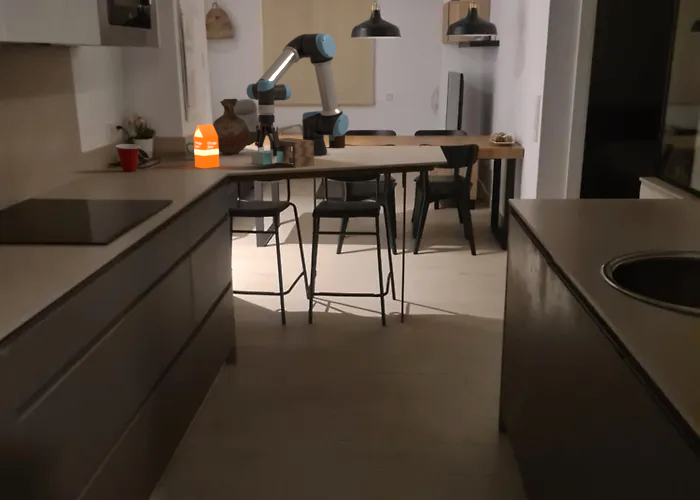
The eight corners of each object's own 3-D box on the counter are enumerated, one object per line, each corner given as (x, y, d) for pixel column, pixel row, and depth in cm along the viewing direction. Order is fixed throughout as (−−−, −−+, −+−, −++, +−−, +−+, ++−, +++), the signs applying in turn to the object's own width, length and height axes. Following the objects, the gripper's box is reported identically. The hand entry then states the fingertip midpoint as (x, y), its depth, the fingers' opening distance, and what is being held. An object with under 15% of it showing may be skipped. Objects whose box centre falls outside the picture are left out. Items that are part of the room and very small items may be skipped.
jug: (241, 150, 392) (239, 97, 384) (257, 155, 374) (255, 98, 366) (205, 153, 381) (202, 98, 373) (219, 157, 363) (216, 99, 355)
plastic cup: (128, 173, 309) (125, 146, 306) (112, 171, 315) (110, 145, 312) (147, 170, 318) (145, 144, 315) (131, 168, 324) (129, 143, 320)
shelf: (289, 161, 349) (288, 137, 345) (314, 165, 335) (313, 140, 332) (270, 163, 340) (269, 139, 337) (295, 167, 327) (294, 142, 324)
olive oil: (339, 146, 416) (339, 104, 409) (349, 147, 408) (349, 104, 401) (324, 147, 410) (324, 104, 403) (334, 148, 402) (334, 105, 395)
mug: (210, 158, 361) (209, 139, 358) (217, 160, 352) (216, 140, 350) (183, 160, 353) (182, 140, 351) (189, 162, 345) (188, 142, 343)
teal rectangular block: (263, 164, 320) (263, 153, 319) (251, 162, 326) (251, 152, 325) (283, 162, 328) (283, 151, 327) (271, 160, 334) (271, 150, 333)
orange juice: (195, 166, 330) (192, 124, 325) (210, 164, 337) (207, 123, 331) (204, 168, 325) (202, 125, 320) (219, 166, 331) (217, 124, 326)
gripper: (246, 113, 326) (247, 160, 332) (274, 115, 311) (275, 165, 317) (258, 112, 331) (260, 159, 337) (287, 114, 316) (288, 163, 322)
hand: (267, 162), depth 327 cm, fingers closed on teal rectangular block, 9 cm apart
